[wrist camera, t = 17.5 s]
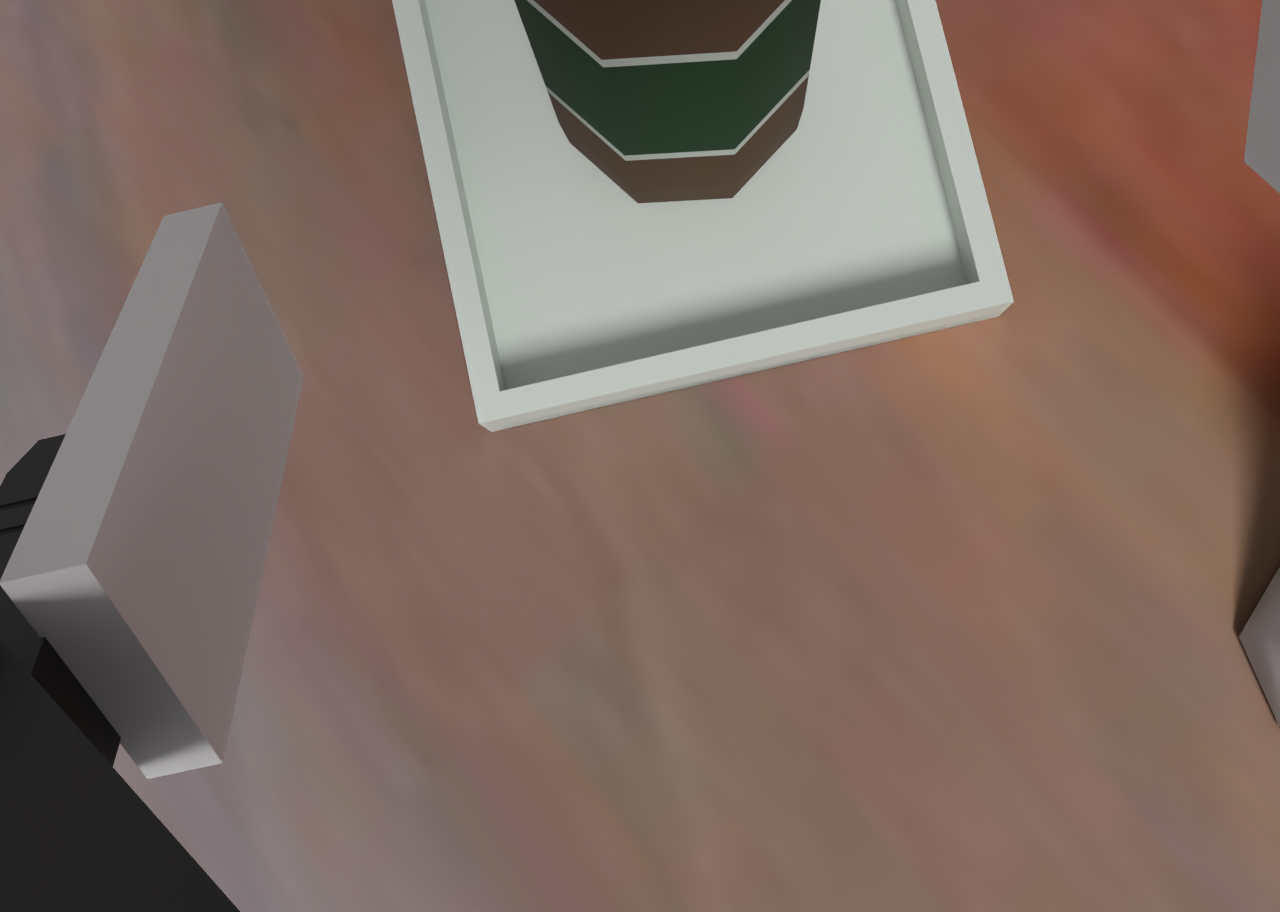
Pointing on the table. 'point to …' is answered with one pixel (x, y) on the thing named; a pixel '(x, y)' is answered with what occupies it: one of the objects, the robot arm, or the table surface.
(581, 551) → the table surface
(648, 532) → the table surface
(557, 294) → the tray
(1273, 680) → the flask
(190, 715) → the robot arm
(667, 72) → the beer bottle
